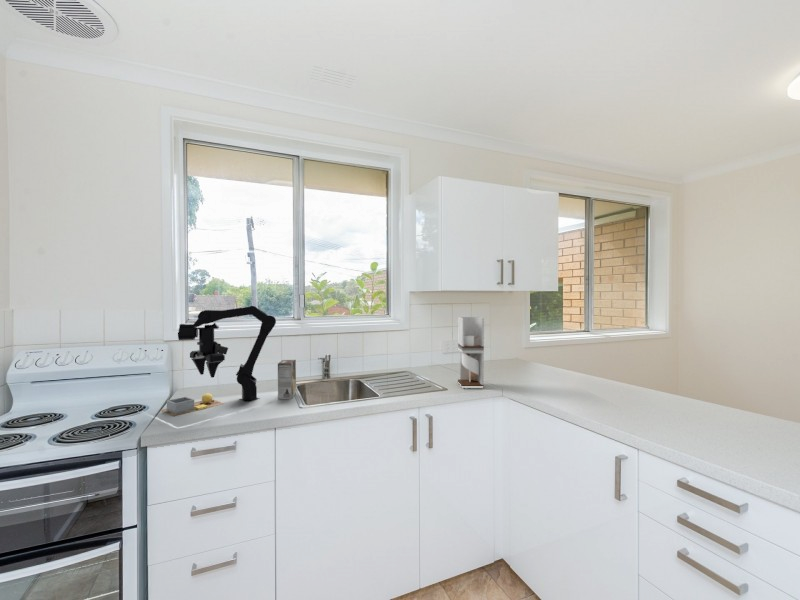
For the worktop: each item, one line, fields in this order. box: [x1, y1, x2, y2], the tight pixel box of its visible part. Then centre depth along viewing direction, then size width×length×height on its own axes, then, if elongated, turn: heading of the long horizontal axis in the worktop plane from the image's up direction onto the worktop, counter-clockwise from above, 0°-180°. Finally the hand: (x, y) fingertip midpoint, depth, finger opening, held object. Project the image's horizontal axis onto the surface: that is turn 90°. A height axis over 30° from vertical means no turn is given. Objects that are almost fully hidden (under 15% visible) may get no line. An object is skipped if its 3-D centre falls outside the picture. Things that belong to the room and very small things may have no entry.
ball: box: [201, 393, 213, 403], centre depth 158 cm, size 4×4×4 cm
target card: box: [194, 404, 209, 411], centre depth 151 cm, size 4×4×1 cm
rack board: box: [160, 399, 225, 417], centre depth 153 cm, size 12×20×1 cm, turn 144°
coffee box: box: [277, 359, 297, 400], centre depth 171 cm, size 9×6×16 cm
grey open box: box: [166, 396, 195, 414], centre depth 148 cm, size 7×7×4 cm
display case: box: [457, 316, 485, 386], centre depth 190 cm, size 11×11×35 cm
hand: (207, 375), depth 158 cm, fingers open, 9 cm apart
